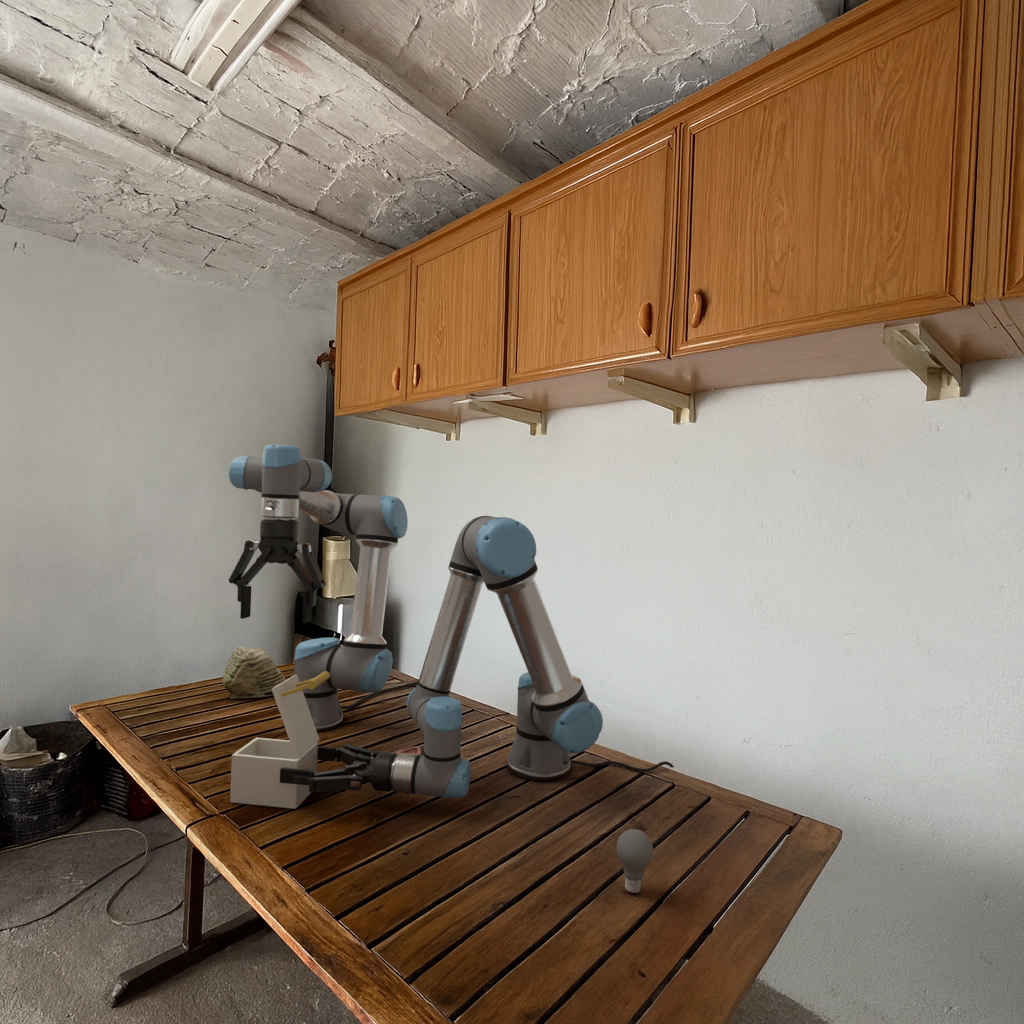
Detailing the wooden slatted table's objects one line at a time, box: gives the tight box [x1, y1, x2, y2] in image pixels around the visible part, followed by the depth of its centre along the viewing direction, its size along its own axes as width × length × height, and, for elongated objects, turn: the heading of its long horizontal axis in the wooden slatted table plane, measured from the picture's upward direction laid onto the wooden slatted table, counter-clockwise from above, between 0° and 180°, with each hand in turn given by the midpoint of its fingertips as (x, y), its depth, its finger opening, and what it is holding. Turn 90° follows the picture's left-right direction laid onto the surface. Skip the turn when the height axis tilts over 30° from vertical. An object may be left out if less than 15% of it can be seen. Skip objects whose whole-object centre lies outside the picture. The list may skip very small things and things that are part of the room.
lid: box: [272, 671, 330, 759], centre depth 133 cm, size 15×10×9 cm
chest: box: [229, 736, 319, 810], centre depth 134 cm, size 14×10×10 cm
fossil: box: [222, 646, 287, 699], centre depth 198 cm, size 9×18×15 cm, turn 132°
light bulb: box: [615, 828, 654, 894], centre depth 106 cm, size 6×6×10 cm
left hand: (275, 619), depth 133 cm, fingers open, 13 cm apart
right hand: (294, 763), depth 133 cm, fingers open, 11 cm apart
